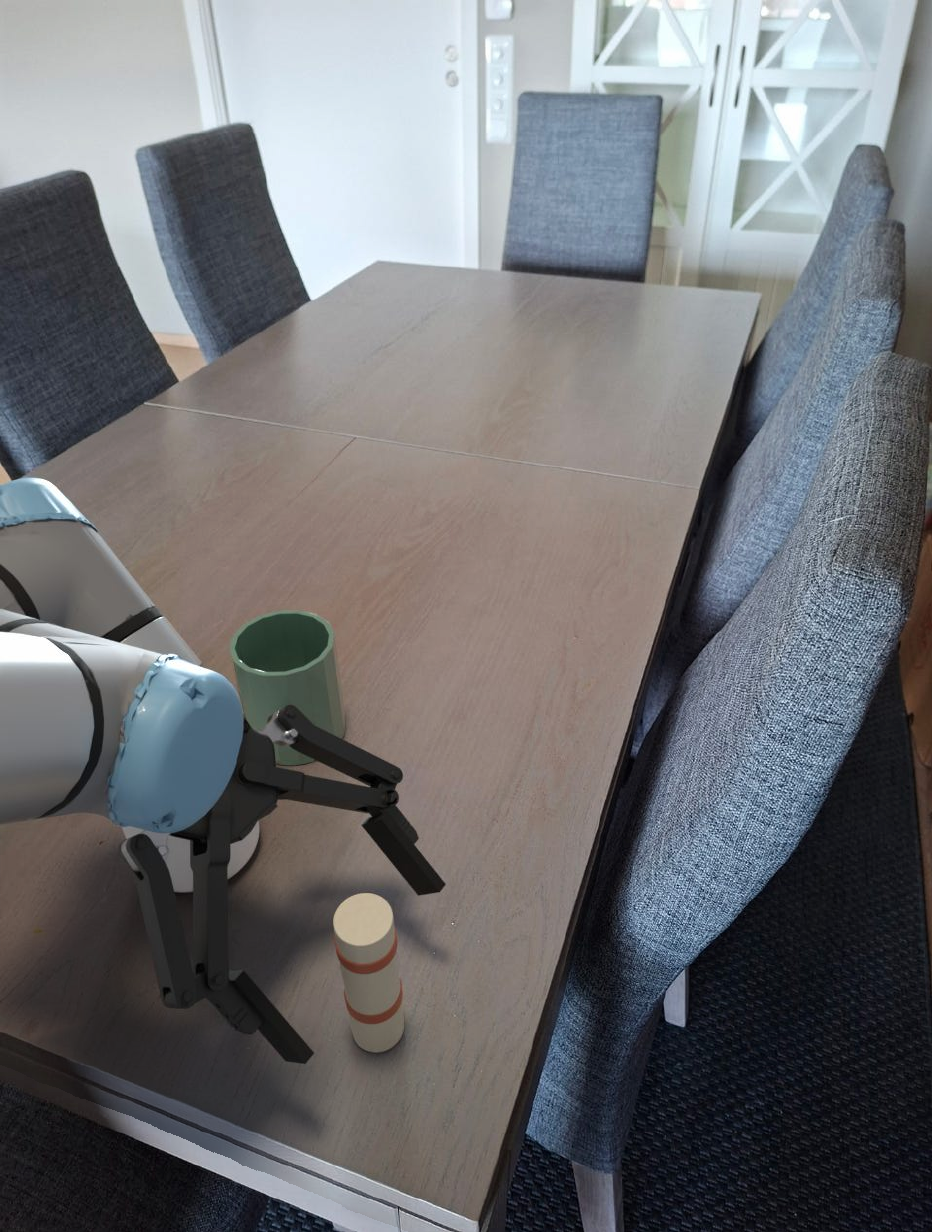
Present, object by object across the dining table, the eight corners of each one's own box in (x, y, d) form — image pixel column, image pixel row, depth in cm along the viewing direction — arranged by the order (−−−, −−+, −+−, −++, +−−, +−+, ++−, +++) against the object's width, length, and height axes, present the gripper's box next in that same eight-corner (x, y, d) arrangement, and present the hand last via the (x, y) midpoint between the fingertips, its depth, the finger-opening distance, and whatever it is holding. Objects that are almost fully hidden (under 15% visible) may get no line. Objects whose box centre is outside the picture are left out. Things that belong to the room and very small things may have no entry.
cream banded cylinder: (376, 1066, 58) (360, 959, 50) (339, 1028, 60) (318, 919, 52) (417, 1025, 60) (407, 916, 52) (380, 990, 62) (366, 880, 55)
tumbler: (289, 781, 78) (271, 690, 71) (231, 732, 83) (209, 642, 76) (364, 728, 83) (354, 639, 77) (306, 685, 88) (291, 598, 81)
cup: (112, 880, 70) (77, 797, 64) (182, 789, 77) (157, 707, 71) (221, 915, 67) (196, 832, 61) (283, 817, 75) (266, 735, 69)
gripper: (273, 622, 64) (447, 840, 67) (-42, 860, 48) (205, 1137, 51) (320, 586, 59) (507, 826, 61) (-18, 842, 42) (257, 1154, 45)
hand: (371, 967), depth 56 cm, fingers open, 13 cm apart
